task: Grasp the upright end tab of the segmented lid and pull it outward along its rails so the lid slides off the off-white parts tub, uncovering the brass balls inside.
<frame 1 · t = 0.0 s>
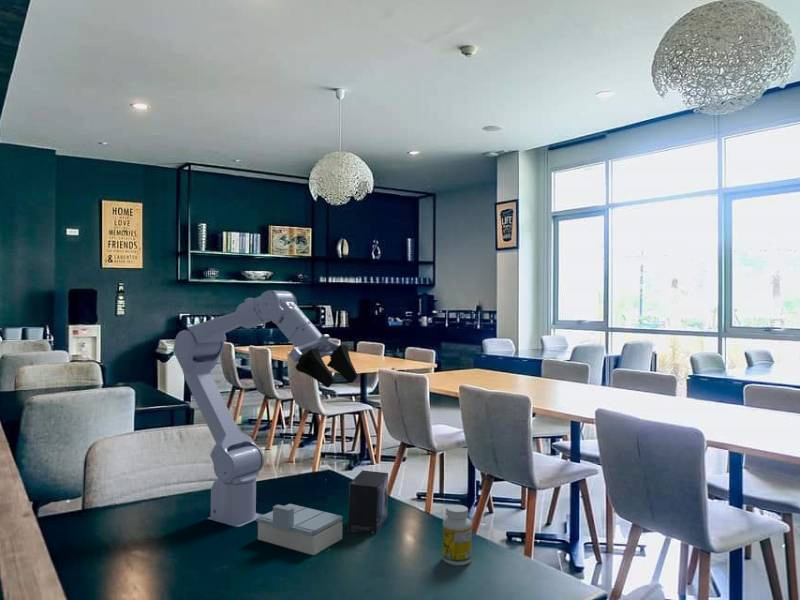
hand: (343, 381, 115), 32 cm above the table, tool tilted 50°, fingers open, 7 cm apart
lid: (298, 510, 117), point 6 cm above the table, slide at 0.0 cm
brass ball a: (284, 534, 120), point 1 cm above the table, touching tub
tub: (300, 541, 118), on the table
brass ball c: (312, 545, 115), point 1 cm above the table, touching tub
brass ball b: (303, 537, 118), point 1 cm above the table, touching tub
small box: (368, 527, 126), on the table
supplement bottle: (456, 561, 110), on the table
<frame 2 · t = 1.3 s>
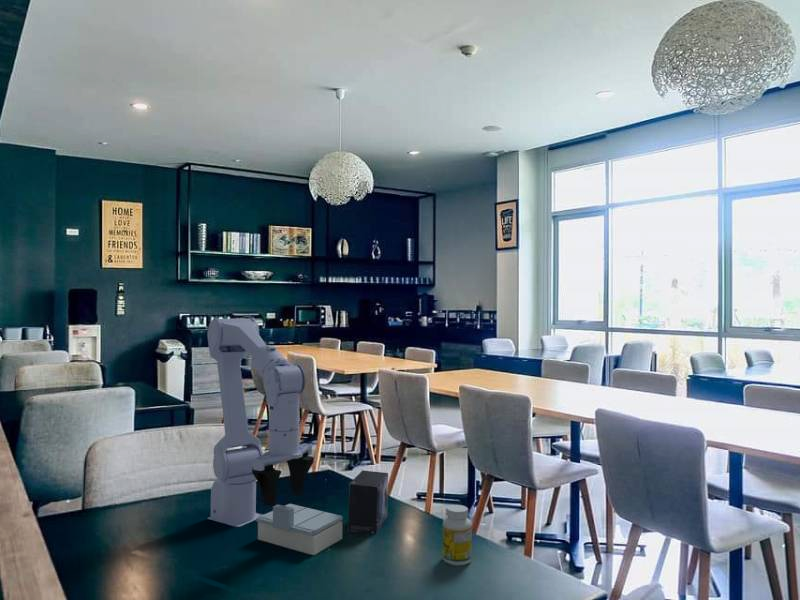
hand: (283, 499, 113), 10 cm above the table, tool pointing down, fingers open, 7 cm apart
nothing on the table moved.
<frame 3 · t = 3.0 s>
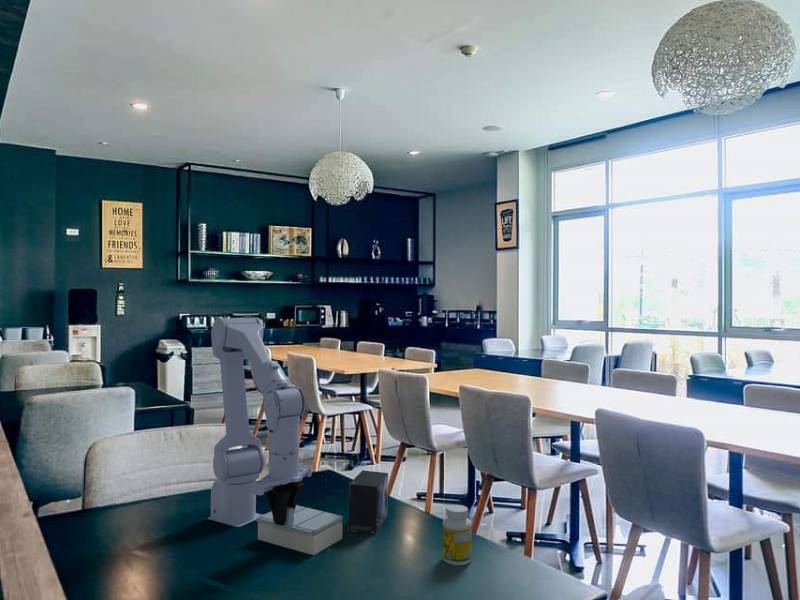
hand: (283, 522, 113), 5 cm above the table, tool pointing down, fingers closed on lid
lid: (298, 510, 117), point 6 cm above the table, slide at 0.0 cm, touching gripper
everything else where it was.
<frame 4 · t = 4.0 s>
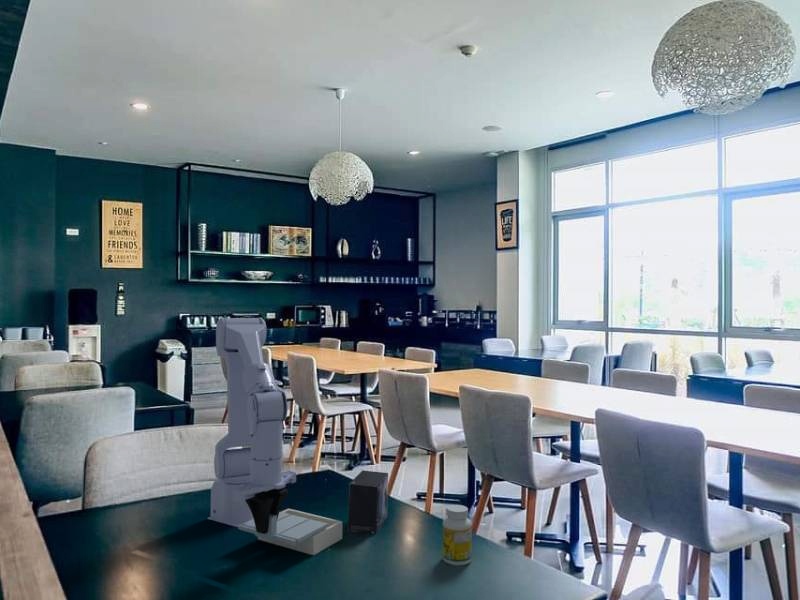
hand: (265, 530, 109), 5 cm above the table, tool pointing down, fingers closed on lid
lid: (282, 518, 113), point 6 cm above the table, slide at 4.7 cm, touching gripper
everything else where it was.
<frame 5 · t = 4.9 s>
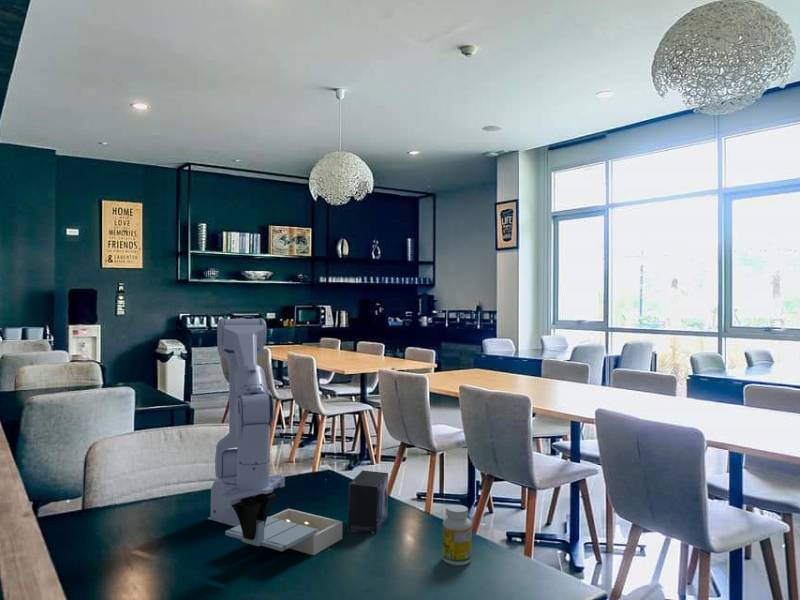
hand: (253, 536, 106), 5 cm above the table, tool pointing down, fingers closed on lid
lid: (270, 523, 110), point 6 cm above the table, slide at 8.0 cm, touching gripper
everything else where it was.
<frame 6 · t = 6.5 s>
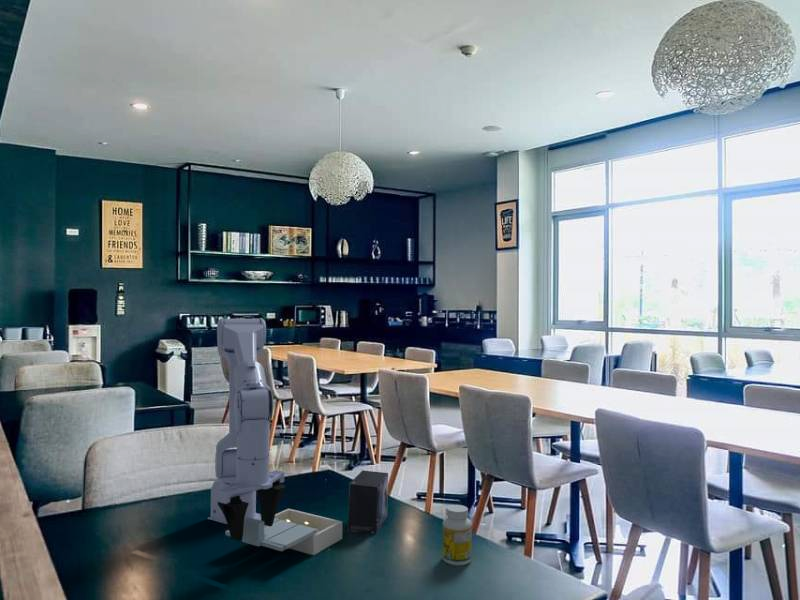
hand: (252, 531, 106), 6 cm above the table, tool pointing down, fingers open, 7 cm apart
lid: (270, 523, 110), point 6 cm above the table, slide at 8.0 cm
everything else where it was.
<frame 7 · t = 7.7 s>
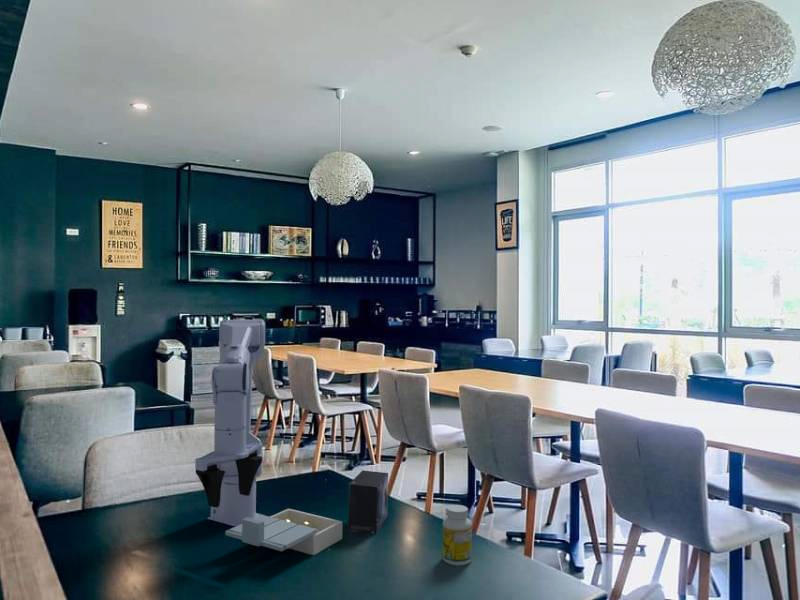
hand: (229, 500, 111), 10 cm above the table, tool pointing down, fingers open, 7 cm apart
nothing on the table moved.
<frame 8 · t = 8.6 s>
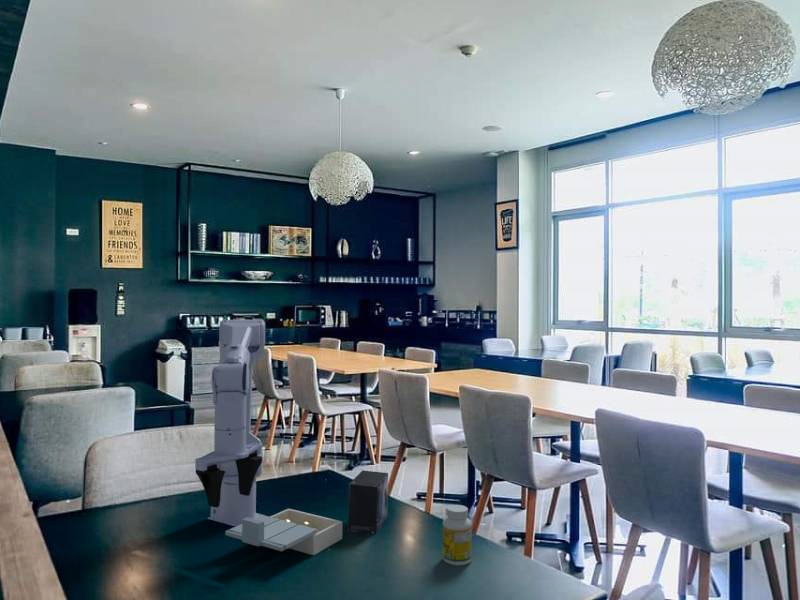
hand: (229, 500, 111), 10 cm above the table, tool pointing down, fingers open, 7 cm apart
nothing on the table moved.
at the end: lid slide at 8.0 cm; the gripper is holding nothing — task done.
